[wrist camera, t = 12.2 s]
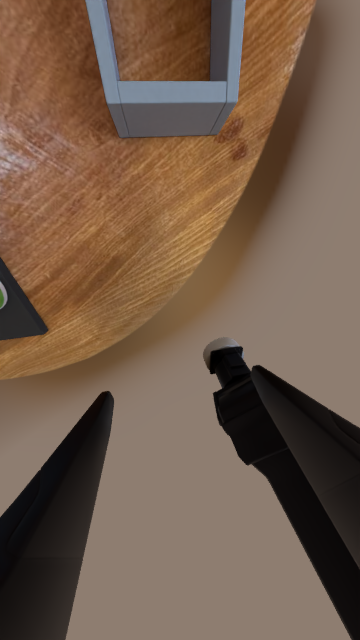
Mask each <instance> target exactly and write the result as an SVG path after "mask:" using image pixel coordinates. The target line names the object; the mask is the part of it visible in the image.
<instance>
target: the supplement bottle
mask: <svg viewBox="0 0 360 640" xmlns="http://www.w3.org/2000/svg"><path fill="white" fill-rule="evenodd" d="M6 302H7V293H6V290H5V288H4V286H3V284H2V283H1V282H0V309H1V308H2V307H4V305H5V304H6Z"/></svg>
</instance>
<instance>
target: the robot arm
mask: <svg viewBox="0 0 360 640" xmlns="http://www.w3.org/2000/svg"><path fill="white" fill-rule="evenodd" d="M242 352H243V347H242V346H238V347H231V348H225V349H219V350H213V351H211V352H210V374H216V375H217V377H218V380H219V382H220V384H221V386H222V389H220V390H219V391H217V392H214V393H213V396H214V402H215V408H216V413H217V418H218V421H219V424H220V426H222V427H223V429H224V431H225V432H226V433H227V435H229V436H230V438H231V439H232V442H233V444H234V446H235V449H236V451H237V454H238V456H239V457H240V458H241V460H242V461H243V462H244V463H245V464H246V465H250V464H252V465H253V466H254V467H255V468H256V469H258V470H259V471H260V472H261V473H262V474H263V475H264V476H265V477H266V478H267V479H268V481H269V483H270V484H271V486H272V488H273V490H274V492H275V494H276V496H277V498H278V500H279V502H280V504H281V505H282V507H283V509H284V511H285V513H286V515H287V517H288V519H289V521H290V523H291V524H292V527H293V528H294V530H295V532H296V534H297V536H298V538H299V540H300V542H301V544H302V546H303V548H304V549H305V551H306V553H307V555H308V557H309V559H310V561H311V562H312V565H313V567H314V569H315V571H316V572H317V574H318V576H319V578H320V580H321V582H322V584H323V586H324V588H325V590H326V591H327V594H328V595H329V597H330V599H331V601H332V603H333V605H334V607H335V609H336V611H337V613H338V614H339V616H340V618H341V620H342V622H343V624H344V626H345V628H346V630H347V632H348V633H349V636H350V638H351V639H352V640H360V428H359V427H357V426H355V425H353V424H352V423H351V422H349V421H347V420H346V419H344V418H342V417H341V416H339V415H337V414H336V413H334V412H333V411H331V410H329V409H328V408H326V407H325V406H323V405H322V404H320V403H318V402H317V401H315V400H314V399H312V398H310V397H309V396H308V395H306V394H304V393H303V392H301V391H299V390H298V389H296V388H295V387H293V386H292V385H290V384H289V383H287V382H286V381H284V380H282V379H281V378H279V377H278V376H276V375H275V374H273V373H271V372H270V371H268V370H267V369H265V368H264V367H262V366H260V365H256V366H253V367H252V371H250V369H249V368H248V367H247V365H246V363H245V362H244V360H243V359H242ZM113 407H114V398H113V396H112V395H111V393H110V392H109V391H105V392H102V393H101V394H100V395H99V396H98V397H97V399H96V400H95V401H94V402H93V404H92V405H91V406H90V407H89V409H88V410H87V411H86V412H85V414H84V415H83V416H82V417H81V419H80V420H79V421H78V422H77V424H76V425H75V426H74V427H73V429H72V430H71V431H70V433H69V434H68V435H67V436H66V438H65V439H64V440H63V441H62V443H61V444H60V445H59V446H58V447H57V449H56V450H55V451H54V453H53V454H52V455H51V456H50V457H49V459H48V460H47V461H46V462H45V464H44V465H43V466H42V467H41V470H39V471H38V472H37V474H36V475H35V476H34V477H33V479H32V480H31V481H30V483H29V484H28V485H27V486H26V488H25V489H24V490H23V491H22V492H21V493H20V495H19V496H18V497H17V498H16V499H15V501H14V502H13V503H12V504H11V505H10V506H9V508H8V509H7V510H6V511H5V512H4V513H3V515H2V516H1V517H0V640H65V639H66V634H67V630H68V625H69V621H70V616H71V611H72V607H73V602H74V597H75V593H76V588H77V584H78V579H79V575H80V570H81V565H82V561H83V556H84V551H85V547H86V542H87V537H88V533H89V528H90V523H91V519H92V515H93V510H94V505H95V501H96V496H97V491H98V487H99V482H100V478H101V473H102V469H103V464H104V460H105V455H106V450H107V446H108V441H109V437H110V431H111V424H112V416H113Z"/></svg>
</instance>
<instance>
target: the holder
mask: <svg viewBox="0 0 360 640" xmlns="http://www.w3.org/2000/svg"><path fill="white" fill-rule="evenodd" d="M245 1H246V0H212V1H211V53H210V81H120V78H119V72H118V66H117V60H116V54H115V48H114V42H113V36H112V30H111V24H110V19H109V13H108V7H107V1H106V0H85V2H86V7H87V11H88V16H89V21H90V26H91V31H92V36H93V40H94V45H95V50H96V55H97V60H98V64H99V69H100V74H101V79H102V84H103V89H104V93H105V98H106V103H107V105H108V108H109V111H110V113H111V116H112V119H113V121H114V124H115V127H116V130H117V132H118V135H119V137H120V138H127V137H129V136H130V137H160V136H193V135H217V134H218V133H219V131H220V130H221V128H222V126H223V125H224V123H225V121H226V120H227V118H228V116H229V115H230V113H231V111H232V110H233V108H234V107H235V105H236V103H237V100H238V88H239V76H240V63H241V51H242V38H243V26H244V13H245Z"/></svg>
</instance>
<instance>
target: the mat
mask: <svg viewBox="0 0 360 640" xmlns="http://www.w3.org/2000/svg"><path fill="white" fill-rule="evenodd" d="M0 282H1V283H2V284H3V286H4V288H5V290H6V293H7V302H6V304H5V305H4V307H2V308H1V309H0V340H7V339H14V338H21V337H29V336H36V335H43V334H45V333H46V332H47V331H48V328H47V327H46V325H45V324H44V322H43V321H42V319H41V318H40V316H39V315H38V313H37V312H36V310H35V309H34V307H33V306H32V304H31V303H30V301H29V300H28V298H27V297H26V295H25V294H24V292H23V291H22V289H21V288H20V286H19V285H18V283H17V282H16V280H15V279H14V277H13V276H12V274H11V273H10V271H9V270H8V268H7V267H6V265H5V264H4V262H3V261H2V259H1V258H0Z"/></svg>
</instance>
